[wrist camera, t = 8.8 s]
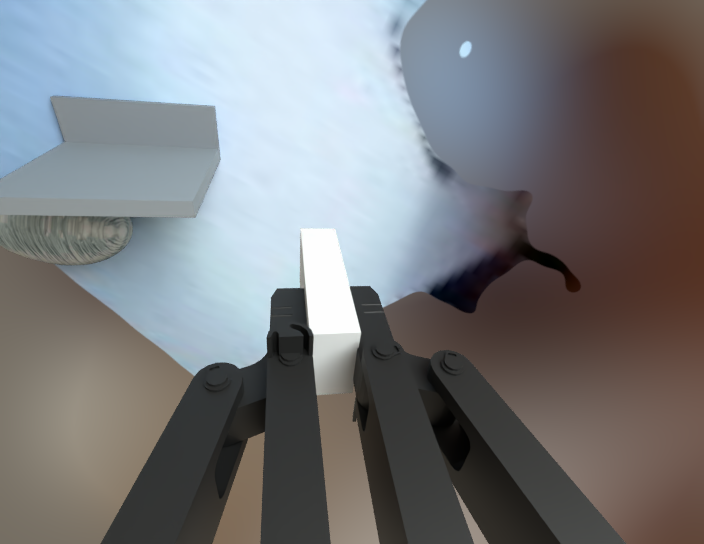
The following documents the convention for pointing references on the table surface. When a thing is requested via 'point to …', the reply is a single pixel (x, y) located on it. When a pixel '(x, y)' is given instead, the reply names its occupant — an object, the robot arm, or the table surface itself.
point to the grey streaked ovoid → (65, 237)
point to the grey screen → (119, 161)
